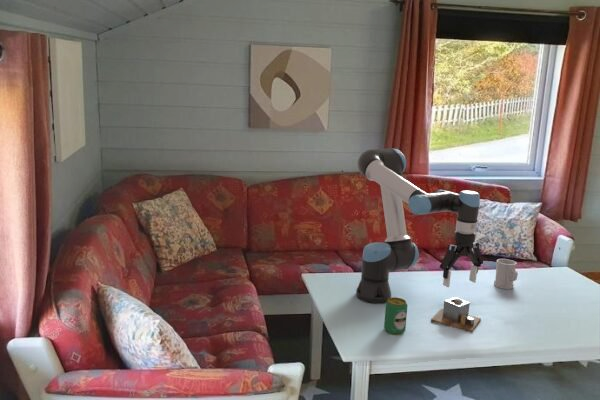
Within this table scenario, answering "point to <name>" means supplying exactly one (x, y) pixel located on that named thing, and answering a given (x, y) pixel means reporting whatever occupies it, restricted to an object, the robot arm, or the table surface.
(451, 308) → the grey hollow square block
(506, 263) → the cup
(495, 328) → the table surface
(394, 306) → the beverage can
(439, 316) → the post base
